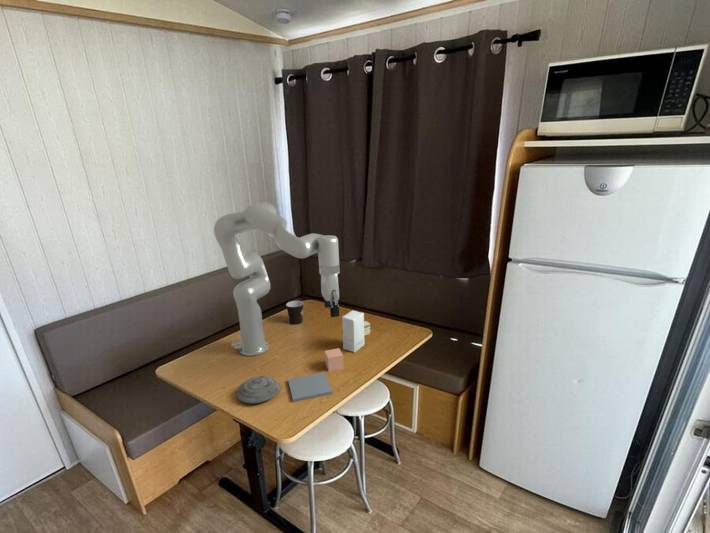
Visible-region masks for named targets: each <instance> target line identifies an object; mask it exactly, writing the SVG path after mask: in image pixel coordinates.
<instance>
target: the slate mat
mask: <svg viewBox="0 0 710 533" xmlns="http://www.w3.org/2000/svg"><path fill="white" fill-rule="evenodd" d="M287 382H288V386H289V391H290V394H291V398H292V403H294V402H299V401H305V400H308V399H314V398H318V397H319V398H320V397H323V396H327V395H332V394H333V389H332V387H331V385H330V382H329V379H328V377H327V375H326V373H325V371H323V372H317V373H314V374H307V375H302V376H297V377H292V378H288V379H287Z"/></svg>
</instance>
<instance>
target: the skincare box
mask: <svg viewBox="0 0 710 533" xmlns="http://www.w3.org/2000/svg"><path fill="white" fill-rule="evenodd" d="M364 321H365V313H364V312H360V311H356V310H351V311H349V312H348V313H346V314H345V315H343V316H341V322H342V323H341V324H342V346H343V347H342V348H343V350H345V351H349V352H352V353H356V352H357V351H359V350H360V349H361V348H362V347H364V346H365V345H366V344H365V340H366V339H365V336H364Z"/></svg>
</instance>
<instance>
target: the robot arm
mask: <svg viewBox="0 0 710 533" xmlns="http://www.w3.org/2000/svg"><path fill="white" fill-rule="evenodd" d="M286 229H287V219H285V217H283V216H281V215H279V214H278V210H277V208H276V207H275V205H274V204H272V203H270V202H268V201H263V202H258V203H253V204H250V205H248V206H246V207H245V209H244V210H243V211H239V212H232V213H229V214H228V213H227V214H225V215H223V216H221V217H219V218H218V219H217V220H216V221H215V223H214V226H213V233H214V237H215V240H216V242H217V243H218V245H219V247H220V249H221V252H222V255H223V259H224V261H225V264H226V266H227V269H228V272H229V274H230V277H231V278H233V279H235V280H241V279H244V278H247V277H249V278H247V279H246V280H243V281H241V282H240V283H238V284H237V285H236V286H234V289H233V292H232V293H233V294H232V295H233V299H234V301H235V304H236V308H237V315H238V320H239V328H240V334H241V335H240V336H241V339H240V341H239V340H238V342H231V348H234V349H235V350H238V349H239V353H240V354H241V355H243V356H248V357H252V356H254V357H255V356H258V355H261V354H264V353H265V352H266V351H268V349H269V348H270V344H269V343H268V342H267V341H266V340H265V332H264V322H263V314H262V309H261V307H260V304H259V303H258V302H257V300H259V299H261V298H262V297H264V296H266V295H268V294H269V293H270V290H271V281H270V279H269V276H268V275H269V274H268V271H267V270H266V266H265V263H264V261H263V258H262V257H261V256H260V255H259V254H258V253H257V252H255V251H248V252H246V251H245V249H244V246H243V243H242V242H241V240H240V239H239V238H238V237H236V236H237V235H238V234H239V235H240V234H243V233H246V232H250V231H253V230H259V231H261V232H262V233H264V234H266V235H268V236H270V237H272V238H273V240H274V242H275V244H276V245H277V246H278V247H279V249H281V250H282V251H283V252H285V253H286V254H288V255H291V256H292V257H295V258H298V259H306V258H309V257H310V256H313V255H315V254H317V256H318V257H317V258H318V271H319V272H318V273H319V275H320V287H321V288H320V291H321V296H322V298H323V300H324V302H323V303H324V308H325V309H327V308H329V309H330V310H329V311H330V317H331V318H336V317H340V304H339V302H340V301H339V299H340V288H339V276H338V275H339V274H340V271H341V269H340V253H339V239H338V237H337V236H336V235H330V234H329V235H327V234H326V235H323V234H320V233H314V232H313V233H308V234H305V235H303V236H300V237H298V236H296V235H294V234H293V233H291V232H289V231H288V230H286Z"/></svg>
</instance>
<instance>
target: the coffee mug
mask: <svg viewBox="0 0 710 533" xmlns="http://www.w3.org/2000/svg"><path fill="white" fill-rule="evenodd" d="M285 307H286V310H287V316H288V319H289V324H291V325H294V326H295V325H300V324H302V323H303V316H304V302H303V301H301V300H291V301H288V302H287V303H286V304H285Z"/></svg>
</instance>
